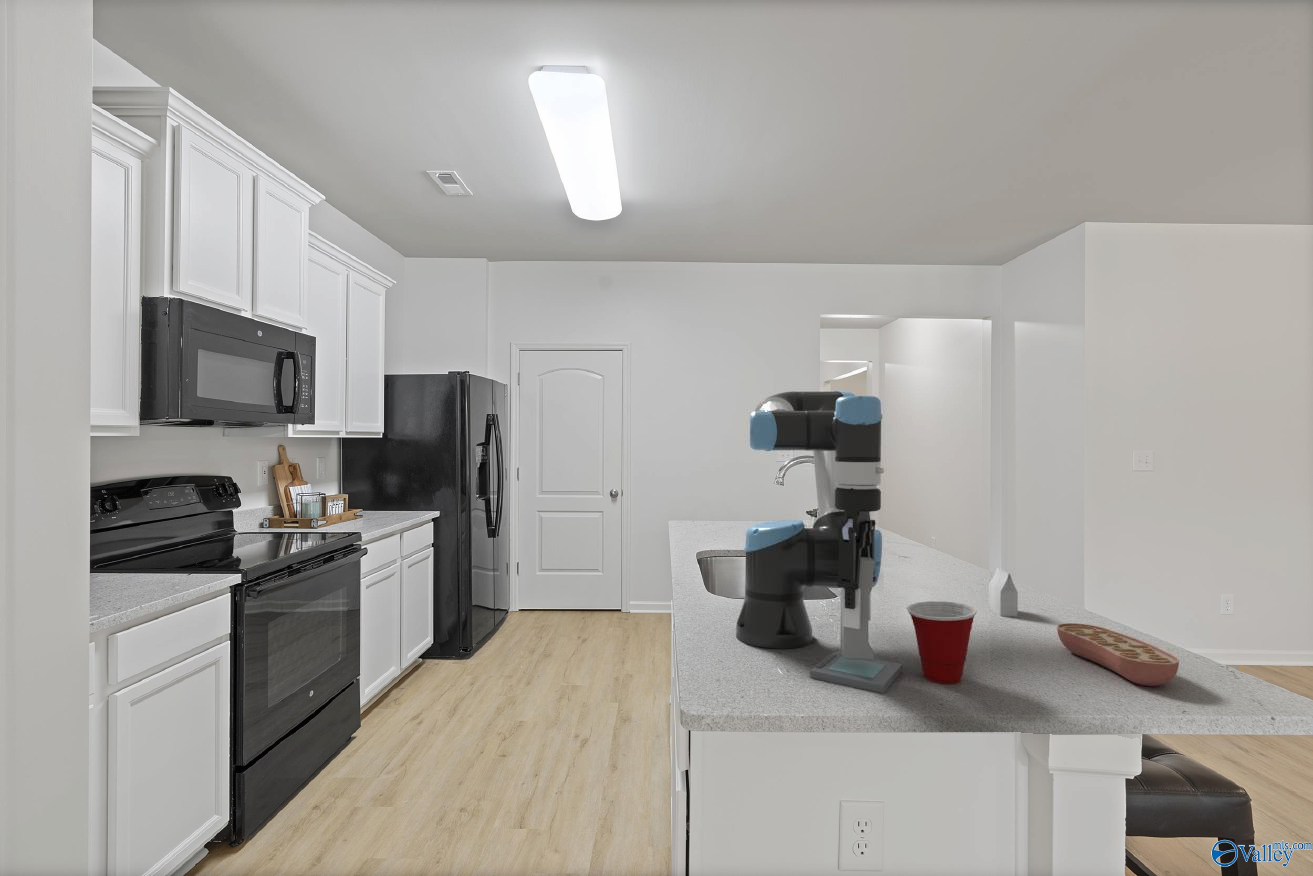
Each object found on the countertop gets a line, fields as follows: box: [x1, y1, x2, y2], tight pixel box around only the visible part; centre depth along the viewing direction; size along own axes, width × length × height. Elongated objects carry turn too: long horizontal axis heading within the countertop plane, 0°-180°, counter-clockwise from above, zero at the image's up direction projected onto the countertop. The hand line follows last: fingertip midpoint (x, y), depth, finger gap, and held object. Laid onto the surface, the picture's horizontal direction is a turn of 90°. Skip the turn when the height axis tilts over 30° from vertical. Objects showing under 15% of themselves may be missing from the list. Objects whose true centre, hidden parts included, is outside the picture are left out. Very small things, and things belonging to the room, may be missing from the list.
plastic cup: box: [906, 600, 978, 685], centre depth 109 cm, size 11×11×12 cm
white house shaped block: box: [988, 567, 1019, 618], centre depth 150 cm, size 4×7×10 cm, turn 173°
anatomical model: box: [1056, 622, 1180, 687], centre depth 114 cm, size 23×10×5 cm, turn 2°
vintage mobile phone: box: [839, 557, 875, 660], centre depth 111 cm, size 4×5×25 cm
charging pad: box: [809, 651, 903, 694], centre depth 111 cm, size 12×12×1 cm
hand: (856, 622), depth 111 cm, fingers closed on vintage mobile phone, 5 cm apart
